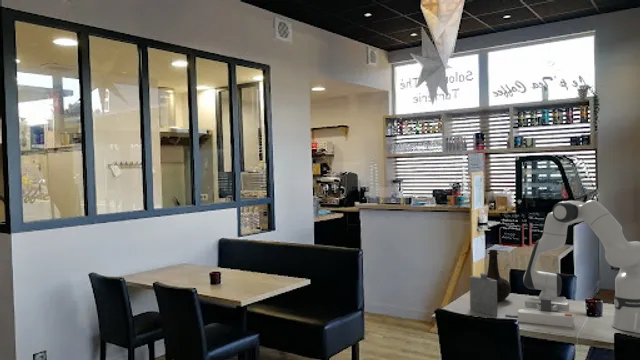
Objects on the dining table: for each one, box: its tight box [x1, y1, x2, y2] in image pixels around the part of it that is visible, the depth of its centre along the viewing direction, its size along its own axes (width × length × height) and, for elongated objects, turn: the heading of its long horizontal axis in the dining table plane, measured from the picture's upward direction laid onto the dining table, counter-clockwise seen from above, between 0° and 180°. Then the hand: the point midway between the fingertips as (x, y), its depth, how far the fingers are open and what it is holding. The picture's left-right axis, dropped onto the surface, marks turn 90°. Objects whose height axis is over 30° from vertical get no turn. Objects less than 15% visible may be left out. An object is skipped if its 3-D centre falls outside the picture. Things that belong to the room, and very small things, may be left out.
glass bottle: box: [486, 249, 512, 302], centre depth 296 cm, size 18×18×28 cm
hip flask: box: [469, 272, 498, 317], centre depth 269 cm, size 16×4×20 cm, turn 35°
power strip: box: [505, 308, 575, 328], centre depth 250 cm, size 6×30×5 cm, turn 64°
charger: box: [540, 297, 552, 312], centre depth 253 cm, size 7×4×10 cm, turn 154°
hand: (546, 308), depth 253 cm, fingers closed on charger, 4 cm apart
